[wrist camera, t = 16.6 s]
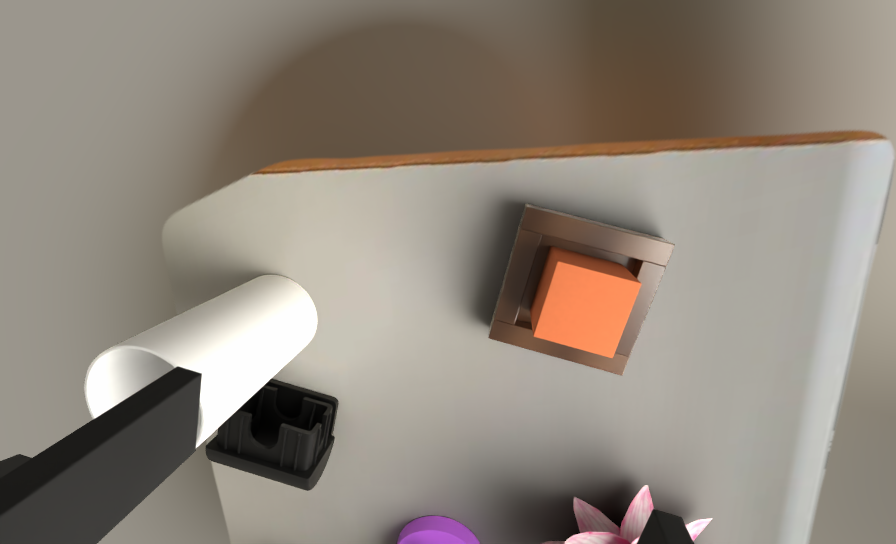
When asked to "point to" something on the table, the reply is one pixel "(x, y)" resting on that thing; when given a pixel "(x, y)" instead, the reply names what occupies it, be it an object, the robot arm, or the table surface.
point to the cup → (211, 349)
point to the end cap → (279, 435)
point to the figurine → (436, 532)
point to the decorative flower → (605, 539)
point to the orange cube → (583, 301)
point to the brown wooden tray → (583, 237)
